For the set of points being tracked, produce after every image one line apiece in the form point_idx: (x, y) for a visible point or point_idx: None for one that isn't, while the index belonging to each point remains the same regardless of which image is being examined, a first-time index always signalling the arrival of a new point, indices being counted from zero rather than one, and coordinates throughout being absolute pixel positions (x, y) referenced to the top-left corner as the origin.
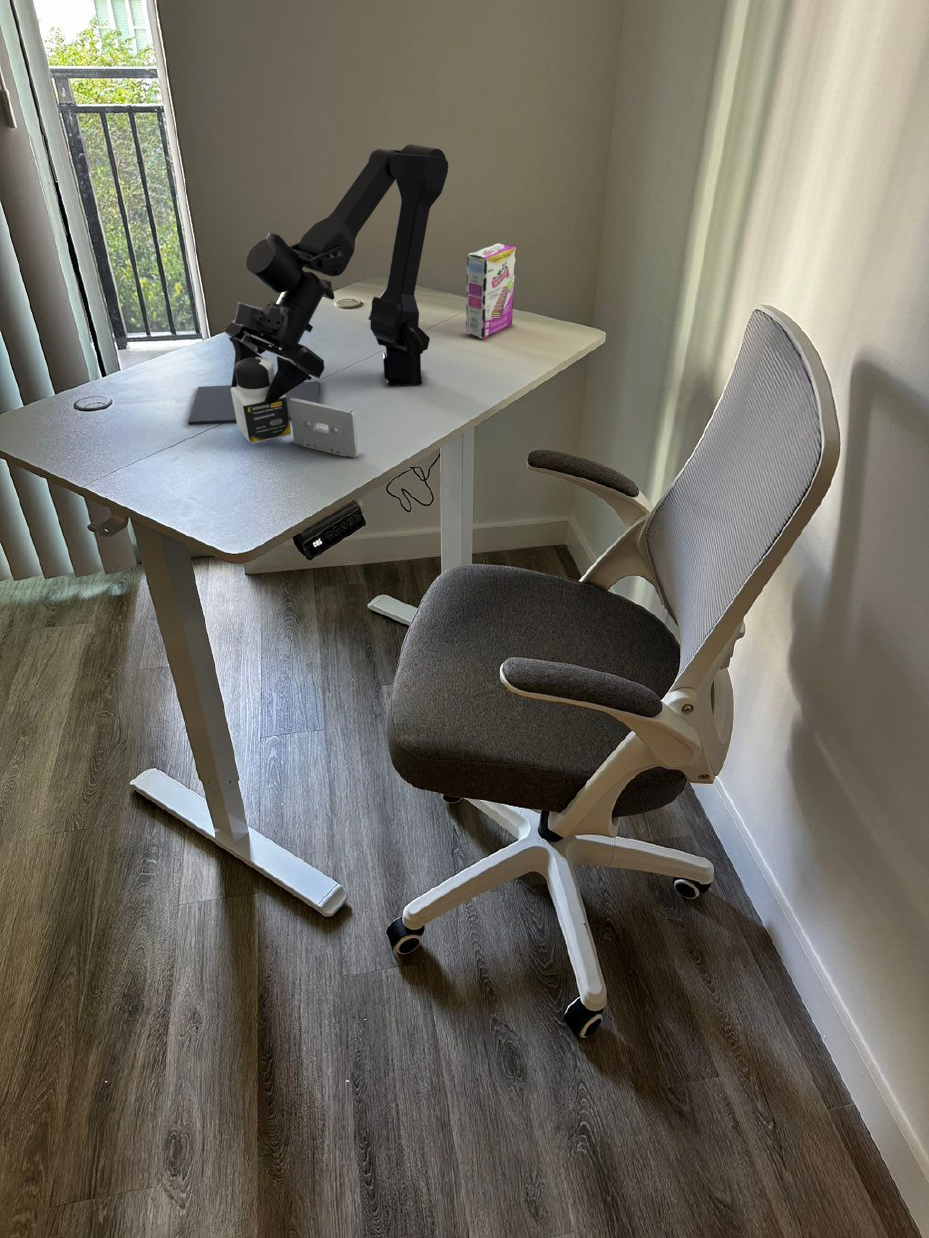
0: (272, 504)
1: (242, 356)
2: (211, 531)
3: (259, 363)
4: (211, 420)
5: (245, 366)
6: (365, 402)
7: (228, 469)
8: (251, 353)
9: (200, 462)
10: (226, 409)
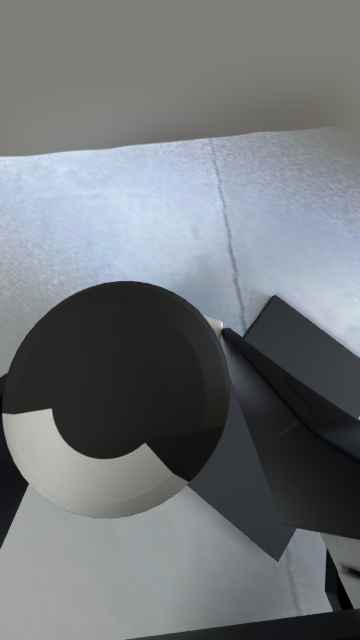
0: (6, 249)
1: (296, 426)
2: (17, 172)
3: (49, 413)
4: (258, 321)
5: (94, 318)
6: (150, 571)
7: (123, 262)
8: (308, 498)
9: (165, 249)
10: (277, 359)
